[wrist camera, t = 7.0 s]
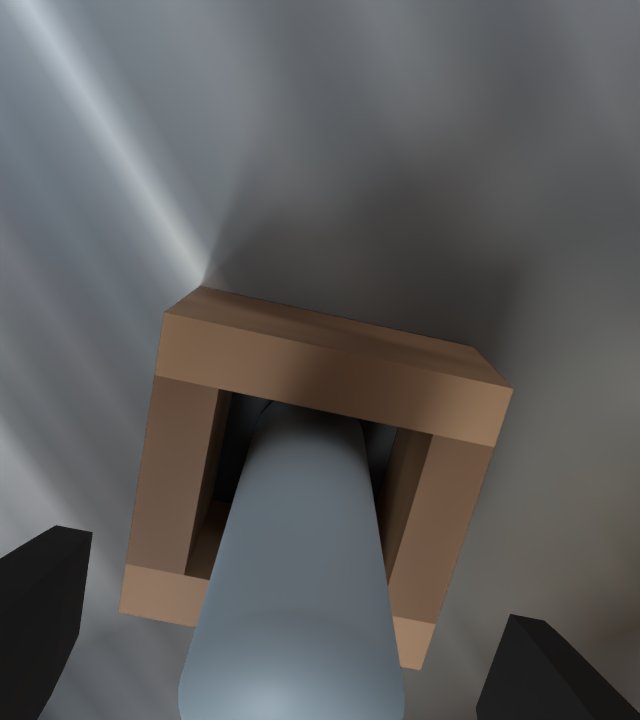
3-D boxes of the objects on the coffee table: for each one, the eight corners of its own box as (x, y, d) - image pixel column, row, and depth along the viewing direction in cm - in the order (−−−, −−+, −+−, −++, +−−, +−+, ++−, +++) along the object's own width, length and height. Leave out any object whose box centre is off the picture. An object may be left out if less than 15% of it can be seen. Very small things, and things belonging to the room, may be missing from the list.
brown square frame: (158, 530, 18) (117, 612, 14) (199, 285, 16) (163, 312, 12) (401, 579, 18) (420, 670, 15) (472, 346, 16) (513, 388, 13)
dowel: (242, 479, 17) (160, 766, 9) (266, 378, 16) (200, 586, 8) (348, 502, 17) (371, 808, 9) (376, 404, 17) (433, 634, 8)
